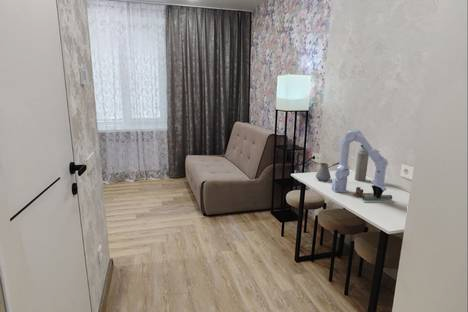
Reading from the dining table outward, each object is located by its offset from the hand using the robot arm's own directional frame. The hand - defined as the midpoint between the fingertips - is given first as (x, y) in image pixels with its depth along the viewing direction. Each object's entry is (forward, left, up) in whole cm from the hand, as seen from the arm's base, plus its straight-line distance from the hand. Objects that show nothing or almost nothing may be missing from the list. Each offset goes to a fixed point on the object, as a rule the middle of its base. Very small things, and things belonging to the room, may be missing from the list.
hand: (376, 197), depth 191 cm
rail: (0, 0, -1) cm, 1 cm away
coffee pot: (-15, +44, -2) cm, 47 cm away
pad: (0, 0, -2) cm, 2 cm away
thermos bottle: (+10, +43, -2) cm, 44 cm away
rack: (-1, +9, -2) cm, 9 cm away
